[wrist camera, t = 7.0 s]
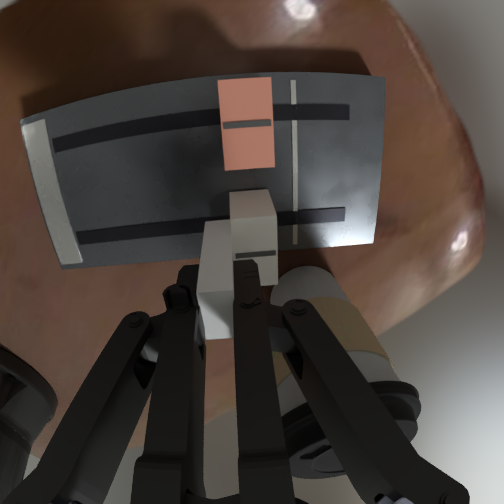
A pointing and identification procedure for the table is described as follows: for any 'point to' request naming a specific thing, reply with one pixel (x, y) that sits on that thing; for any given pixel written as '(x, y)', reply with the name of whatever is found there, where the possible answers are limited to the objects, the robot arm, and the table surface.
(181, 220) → the console
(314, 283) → the coffee cup
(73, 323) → the table surface
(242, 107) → the fader
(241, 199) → the fader
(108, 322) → the table surface
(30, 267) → the table surface
